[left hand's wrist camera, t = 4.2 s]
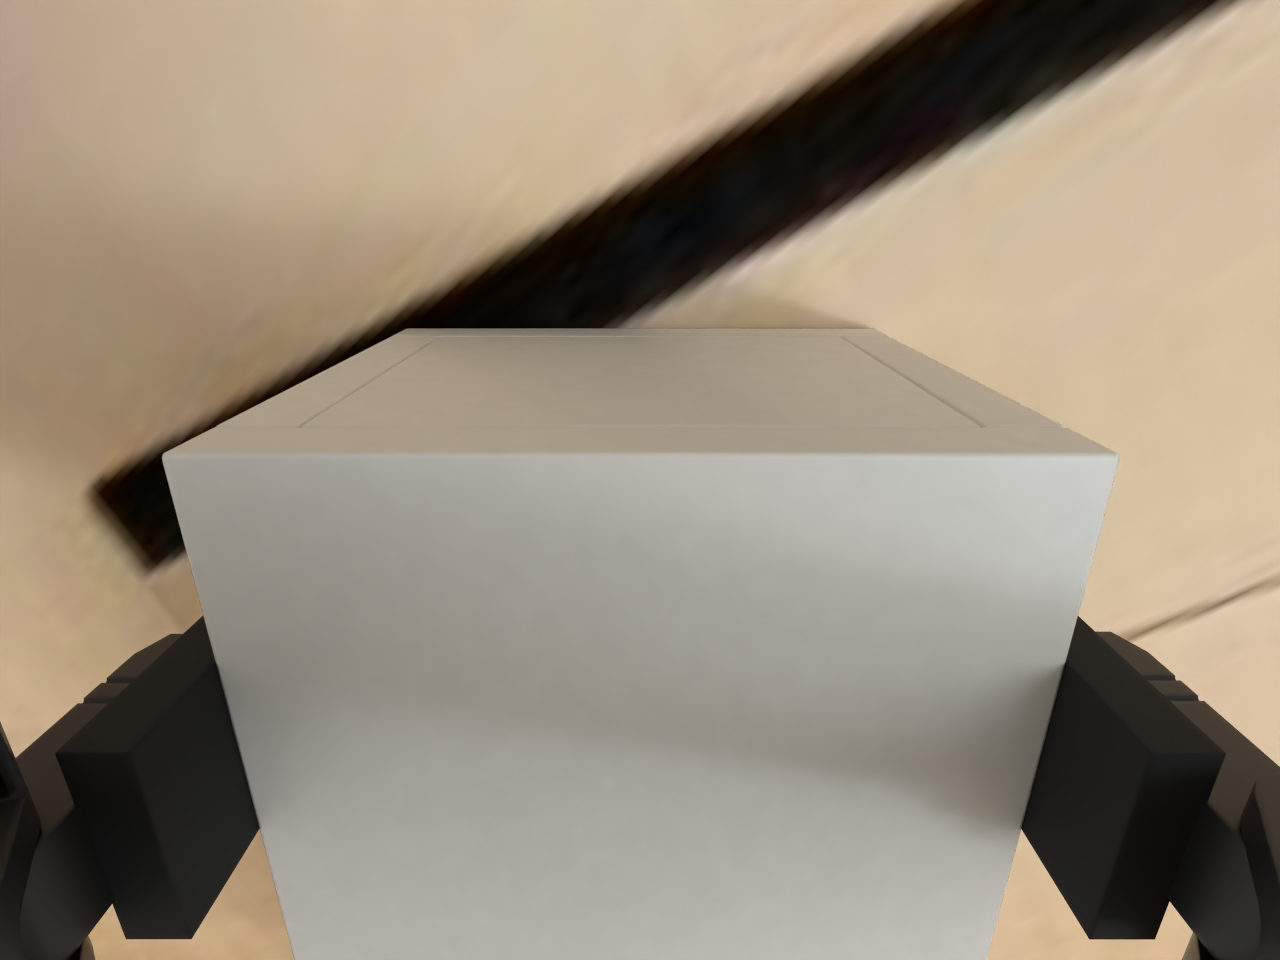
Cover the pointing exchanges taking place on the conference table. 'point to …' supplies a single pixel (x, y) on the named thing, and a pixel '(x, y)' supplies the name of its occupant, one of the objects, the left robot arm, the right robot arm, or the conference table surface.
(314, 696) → the cabinet
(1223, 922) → the left robot arm
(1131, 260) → the conference table surface
